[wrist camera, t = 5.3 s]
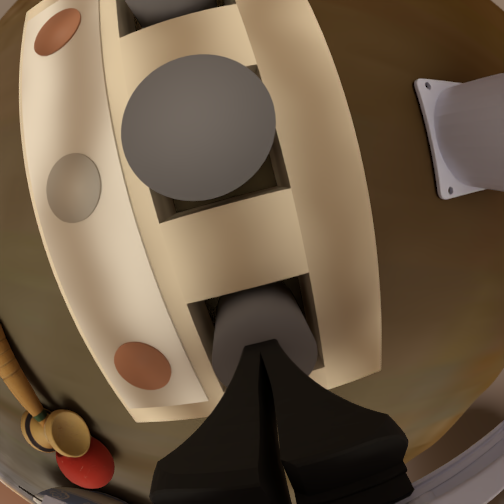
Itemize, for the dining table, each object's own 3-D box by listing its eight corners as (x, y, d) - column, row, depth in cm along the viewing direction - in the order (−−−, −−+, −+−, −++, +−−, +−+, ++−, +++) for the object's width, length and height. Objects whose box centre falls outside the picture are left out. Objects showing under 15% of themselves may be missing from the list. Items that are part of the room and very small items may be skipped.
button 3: (287, 265, 14) (309, 301, 10) (301, 333, 16) (322, 382, 11) (206, 286, 14) (196, 330, 10) (229, 352, 16) (229, 405, 11)
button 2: (246, 86, 11) (253, 40, 6) (271, 178, 12) (293, 178, 7) (150, 113, 11) (110, 84, 6) (174, 205, 12) (141, 220, 7)
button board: (259, -41, 10) (265, -76, 6) (358, 339, 17) (383, 374, 13) (51, 29, 10) (23, 10, 6) (148, 387, 17) (135, 426, 13)
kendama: (-10, 330, 17) (87, 466, 19) (-47, 349, 10) (72, 502, 13) (28, 302, 18) (136, 456, 20) (-14, 320, 11) (126, 499, 14)
